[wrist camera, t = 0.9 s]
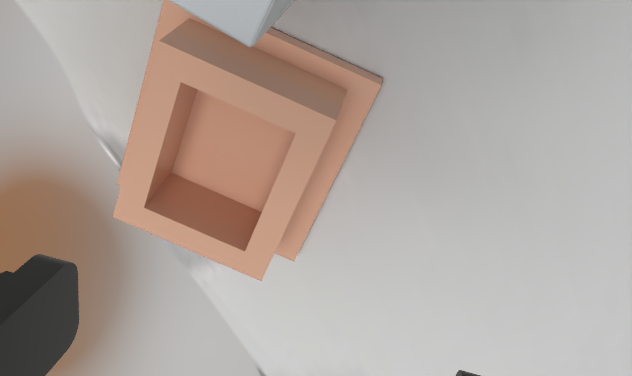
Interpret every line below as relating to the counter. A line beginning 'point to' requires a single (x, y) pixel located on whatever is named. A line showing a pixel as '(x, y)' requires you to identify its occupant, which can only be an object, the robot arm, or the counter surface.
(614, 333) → the counter surface
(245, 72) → the tan open box
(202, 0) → the skincare box
